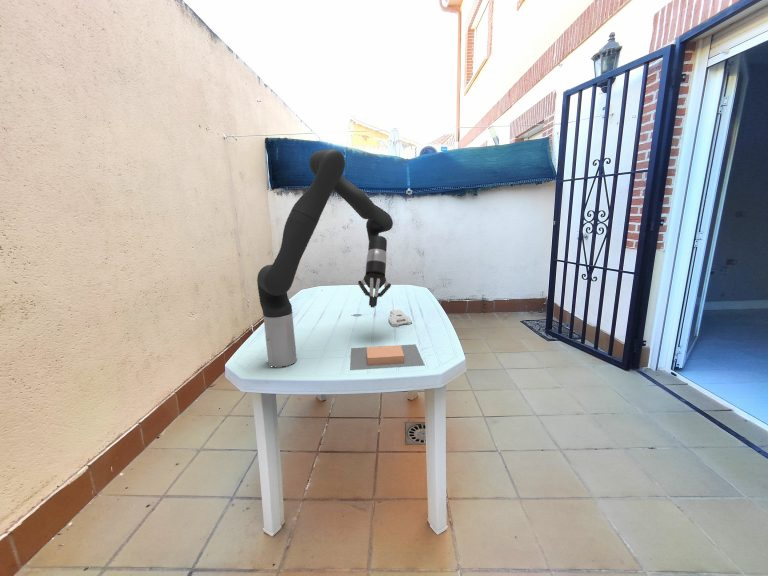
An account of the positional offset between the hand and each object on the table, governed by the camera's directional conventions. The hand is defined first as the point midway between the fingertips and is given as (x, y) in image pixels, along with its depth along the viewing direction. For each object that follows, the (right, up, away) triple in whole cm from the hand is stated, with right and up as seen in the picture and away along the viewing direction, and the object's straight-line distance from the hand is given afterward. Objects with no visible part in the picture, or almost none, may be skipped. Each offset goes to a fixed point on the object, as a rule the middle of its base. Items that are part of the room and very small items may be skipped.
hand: (372, 307), depth 126 cm
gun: (+11, -8, +31) cm, 34 cm away
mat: (+5, -17, -8) cm, 19 cm away
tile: (+4, -15, -6) cm, 16 cm away
